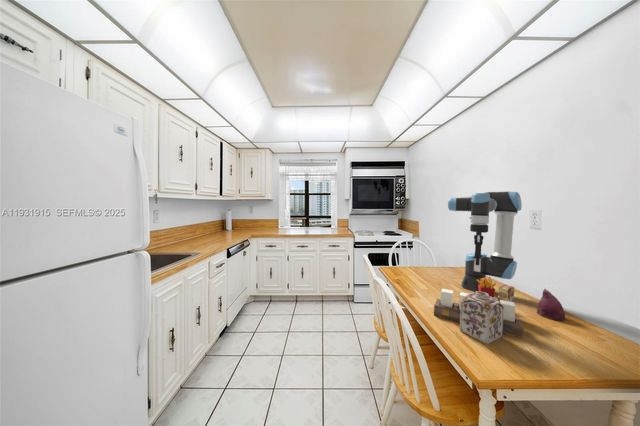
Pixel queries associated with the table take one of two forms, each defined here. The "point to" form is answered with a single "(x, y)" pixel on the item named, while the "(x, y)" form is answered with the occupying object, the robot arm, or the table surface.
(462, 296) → the white block
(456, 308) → the wooden candle holder
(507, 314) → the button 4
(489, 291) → the french fries
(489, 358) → the table surface
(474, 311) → the decorative jar
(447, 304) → the white rectangular block
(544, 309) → the vegetable
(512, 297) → the candy box
